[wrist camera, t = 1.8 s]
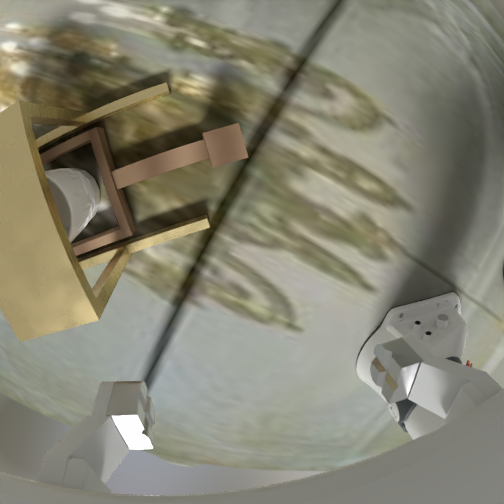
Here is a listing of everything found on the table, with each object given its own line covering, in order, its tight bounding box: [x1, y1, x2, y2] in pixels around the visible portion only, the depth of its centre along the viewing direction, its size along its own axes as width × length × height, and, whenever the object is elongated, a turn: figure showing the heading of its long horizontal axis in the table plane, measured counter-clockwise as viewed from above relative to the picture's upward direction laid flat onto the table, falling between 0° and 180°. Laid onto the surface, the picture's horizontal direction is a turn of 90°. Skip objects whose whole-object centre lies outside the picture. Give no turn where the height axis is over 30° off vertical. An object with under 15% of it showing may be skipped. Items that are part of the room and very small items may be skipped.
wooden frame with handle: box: [40, 123, 248, 256], centre depth 27 cm, size 25×12×8 cm, turn 105°
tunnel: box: [0, 83, 210, 342], centre depth 24 cm, size 28×17×15 cm, turn 105°
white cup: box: [45, 168, 100, 243], centre depth 26 cm, size 8×8×10 cm
